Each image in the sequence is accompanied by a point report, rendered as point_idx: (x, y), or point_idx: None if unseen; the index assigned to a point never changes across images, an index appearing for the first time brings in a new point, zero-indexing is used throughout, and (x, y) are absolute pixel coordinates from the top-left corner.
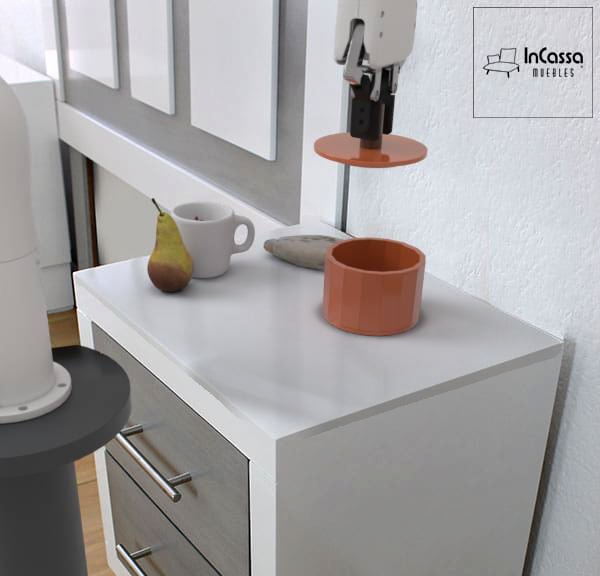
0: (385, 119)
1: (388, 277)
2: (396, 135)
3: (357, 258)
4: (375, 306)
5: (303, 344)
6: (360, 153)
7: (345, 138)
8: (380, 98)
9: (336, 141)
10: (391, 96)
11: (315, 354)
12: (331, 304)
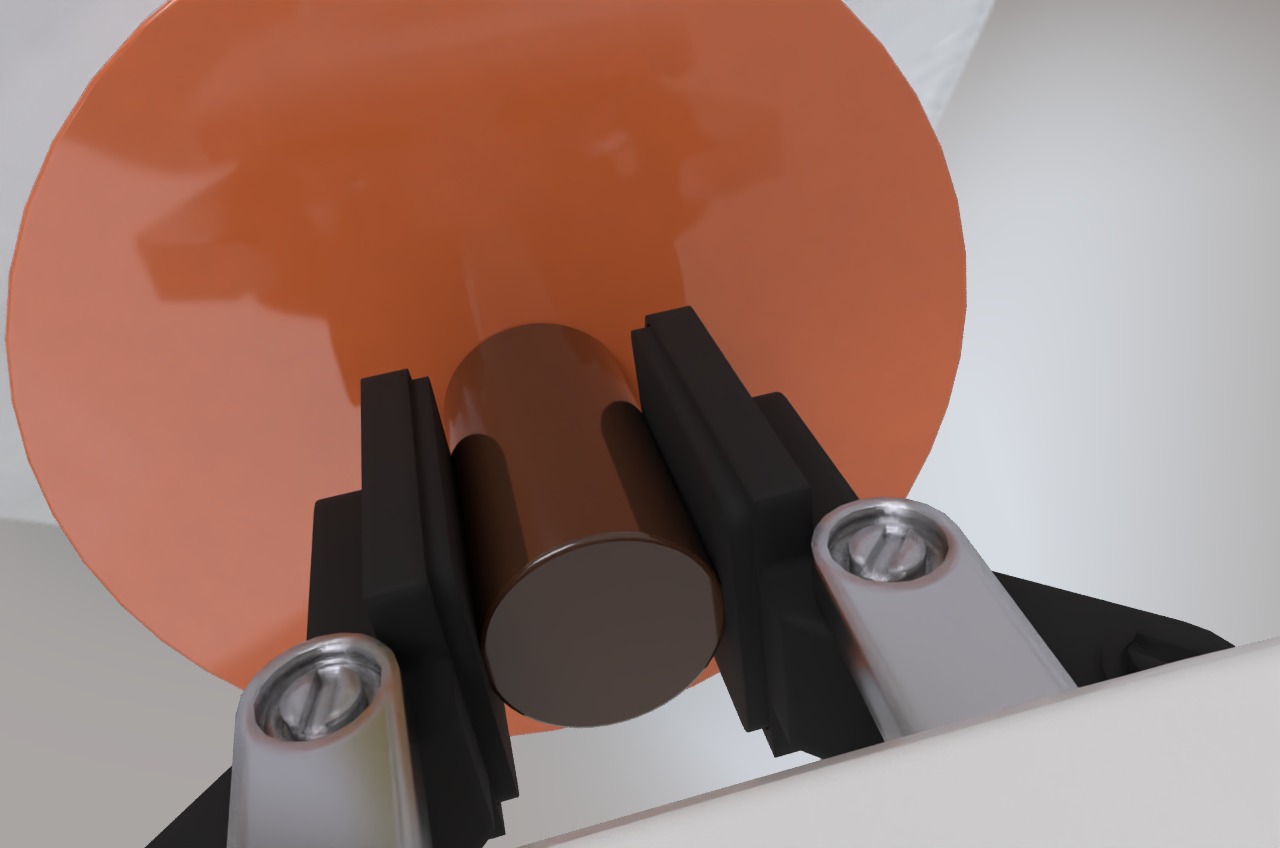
0: None
1: None
2: (954, 333)
3: None
4: None
5: (33, 84)
6: (291, 488)
7: (591, 103)
8: (733, 637)
9: (434, 113)
10: (769, 739)
11: (17, 176)
12: None
